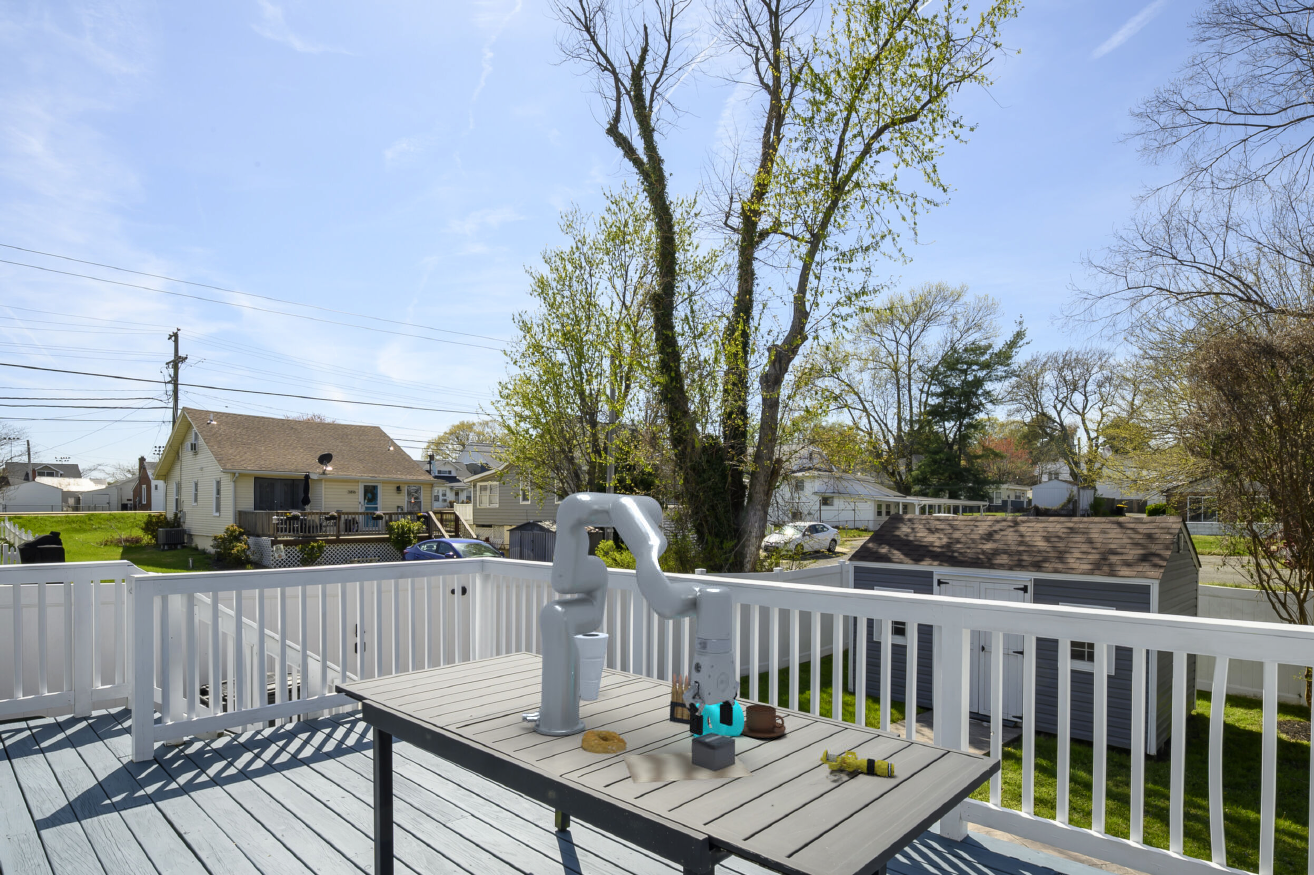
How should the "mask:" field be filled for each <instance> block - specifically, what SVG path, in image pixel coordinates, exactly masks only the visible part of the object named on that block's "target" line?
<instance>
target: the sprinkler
mask: <svg viewBox="0 0 1314 875" xmlns="http://www.w3.org/2000/svg"><path fill="white" fill-rule="evenodd" d="M848 755H852V756H851V757H849V756H848ZM853 756H854V757H853ZM819 760H820V762H822V763H823V764H824V765H828V768H827V769H829V770H832V771H833V770H835V771H837V770H839V769H840V768H841V770H843V771H844V770H846V771H848V772H853V771H854V770H858V771H860V772H861V773H865V774H866V775H871V776H876V775H877V776H878V775H879V777H886V776H888V777H893V776H895V764H894V763H892V762H888V761H886V760H881V759H877V760H876V759H873V758H867V759H866V758H860V759H858V756H857V752H856V751H849V750H845V755H840V756H839V755H838V754H833V753H829V752H828V749H824V751H823V753H822V756H821V757H820V759H819ZM875 774H876V775H875Z"/></svg>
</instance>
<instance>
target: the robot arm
mask: <svg viewBox="0 0 1314 875" xmlns="http://www.w3.org/2000/svg"><path fill="white" fill-rule="evenodd" d="M555 518H556V519H555V521H556V522H555V523H556V524H555V525H556V526H555V528H556V537H555V545H554V550H553V551H554V552H553V560H552V564H551V565H552V566H551V574H550V575H551V576H550V580H551V581H550V585H551V587H552V589H553V591H554V592H555V593H558V594H560V595H576V594H577V596H576V597H567V598H559V599H554V600H551V601H549V602H547V603H546V604H545V605H544V606H543V607H542V608H541V611H540V613H539V617H538V618H539V619H538V623H539V629H540V634H541V635H540V636H541V647H542V654H541V656H542V658H541V659H542V662H541V663H542V664H541V666H542V668H541V698H540V699H541V700H540V707H539V709H538V710H536V711H534V712H522V714H521V715H522V716H521V718H522V720H521V721H522V722H526V723H534V725H533V728H534V731H535V732H536V733H538V734H540V735H541V734H542V735H545V736H555V737H556V736H557V737H559V736H560V737H561V736H571V735H576V734H578V733H581V732H584V730H585V729H586V722H585V721H584V720H582V719H580V700H581V695H580V651H579V648H578V645H577V643H576V641H575V638H574V636H577V635H583V634H588V633H592V632H596V631H597V630H598V629H599V628H600V627H601V625H602V623H603V620H604V617H605V616H604V615H605V610H606V609H605V607H606V601H607V592H608V585H609V572H608V567H607V564H606V563H605V562H604V560H603V559H602V558H601V557H599V556H596V555H589V550H590V538H589V534H588V532H587V529H586V528H587V527H595V528H598V527H599V528H601V527H602V528H605V527H608V528H611V527H612V528H613V527H614V528H615V530H616V532H617V533H618V535H619V536H620V538H621V539H622V541H623V542H624V544H625V545H626V546H627V548H628V550H629V552H630V553H631V554H632V556H633V557H634V559H635V561H636V562H635V577H636V583H637V586H638V589H639V592H640V593H641V595H642V596H643V598H644V600H645V601H646V602H647V604H648V606H649V607H650V608H651V610H652V611H653V612H654V614H656V616H658V617H659V618H662V619H664V620H668V621H670V620H673V621H674V620H678V619H685V618H691V617H695V643H694V648H695V649H694V650H695V651H694V655H693V660H692V666H691V672H690V673H691V675H690V682H691V687H690V686H689V689H688V690H687V691H686V692H685V693H684V694H683V700H684V703H685V707H686V708H687V710H688V713H690V725H689V729H688V730H689V731H688V732H689V733H690V734H696V735H699V736H701V735H703V715H701V713H702V711H703V709H704V707H705V705H714V704H718V703H721V702H722V703H723V704H720V723H721V724H724V725H727V726H732V725H733V707H732V706H734V705H735V700H736V699H737V696H738V692H739V689H740V685H741V684H740V682H739V681H738V680H737V678H736V667H735V665H736V664H735V658H734V654H733V651H732V650H731V648H732V606H733V605H732V604H733V602H732V601H733V600H732V599H733V598H732V594H733V593H732V592H731V590H730V589H729V587H726V586H719V585H707V584H704V583H700V582H696V581H686V582H675V583H671V582H670V580H669V579H668V577H667V576H666V575H665V573H664V572H663V570H662V569H661V566H660V563H659V558H660V557H661V556H662V555H663V554H664V553H665V551H666V549H667V547H668V539H667V538H666V536H665V535H664V534H663V532H662V531H661V529H660V527H659V526H660V524H661V523H662V519H663V510H662V506H661V504H660V503H659V502H658V501H657V500H656V499H654V498H653V497H652V496H647V495H630V494H619V493H605V492H594V491H593V492H590V491H584V492H583V491H582V492H576V493H572V494H569V495H568V496H566V497H564V498H563V500H562V501H561V503H560V504H559V506H558V508H557V511H556V517H555ZM697 703H698V704H699V706H698V708H697V707H696V704H697Z"/></svg>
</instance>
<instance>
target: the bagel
mask: <svg viewBox="0 0 1314 875" xmlns="http://www.w3.org/2000/svg"><path fill="white" fill-rule="evenodd" d="M581 737H582V738H581V748H582V750H584V751H586V752H588V753H591V754H592V753H593V754H600V755H603V754H604V755H605V754H606V755H607V754H608V755H610V754H611V755H612V754H615V755H616V754H619V753H622V752H625V751H626V750H627V742H626V741H625V739H624V738H623V737H621V736H620V735H619V734H618V733H617V732H615V731H610V730H595V729H590V730H587V731H585V733H584V734H583V736H581Z"/></svg>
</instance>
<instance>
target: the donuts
mask: <svg viewBox="0 0 1314 875" xmlns="http://www.w3.org/2000/svg"><path fill="white" fill-rule="evenodd" d="M720 704H723V703H722V702H721V703H718V704H714V705H705V707H704V709H703V711H702V713H701V715H703V735H705V734H708V733H715V734H719V735H722V736H726V737H740V735H741V734H742V733H741V732H742V730H743V728H744V721H745V714H744V711H743V709H742V706H741V704H740V703H739V702H738V701H737V700H736V699H735V705H734V706H732V707H733V725H732V726H727V725H724V724H721V723H720ZM698 706H699V704H698V703H697V704H696V707H697V708H698ZM708 717H709V725H708V723H707V718H708ZM710 725H711V726H710ZM692 734H693V733H692ZM693 736H694V738H696V737H699V735H696V734H693ZM701 736H702V735H701Z"/></svg>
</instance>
